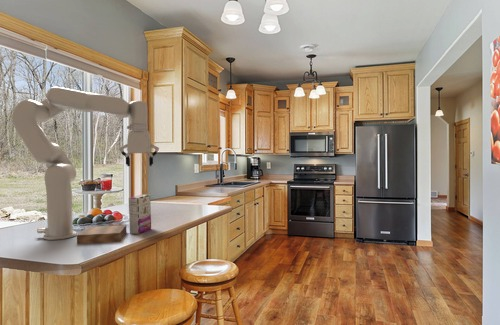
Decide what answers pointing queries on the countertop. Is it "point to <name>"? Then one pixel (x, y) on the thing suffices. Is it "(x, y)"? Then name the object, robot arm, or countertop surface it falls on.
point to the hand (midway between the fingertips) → (139, 166)
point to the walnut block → (101, 234)
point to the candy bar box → (139, 214)
